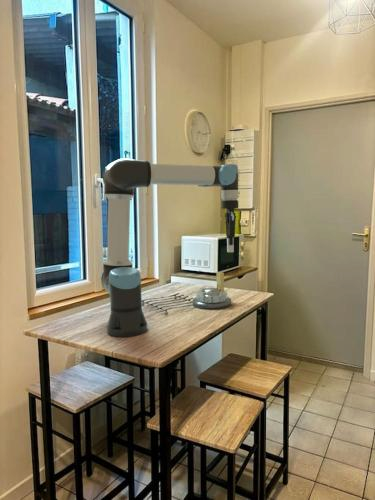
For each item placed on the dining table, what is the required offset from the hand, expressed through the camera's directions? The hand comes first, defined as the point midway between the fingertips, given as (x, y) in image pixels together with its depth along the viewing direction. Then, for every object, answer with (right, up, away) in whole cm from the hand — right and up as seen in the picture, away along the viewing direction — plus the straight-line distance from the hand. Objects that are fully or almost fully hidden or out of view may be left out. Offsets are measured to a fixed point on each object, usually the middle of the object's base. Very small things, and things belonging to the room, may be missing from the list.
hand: (230, 252), depth 175 cm
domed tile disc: (-8, -22, +4) cm, 24 cm away
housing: (-8, -24, +5) cm, 26 cm away
